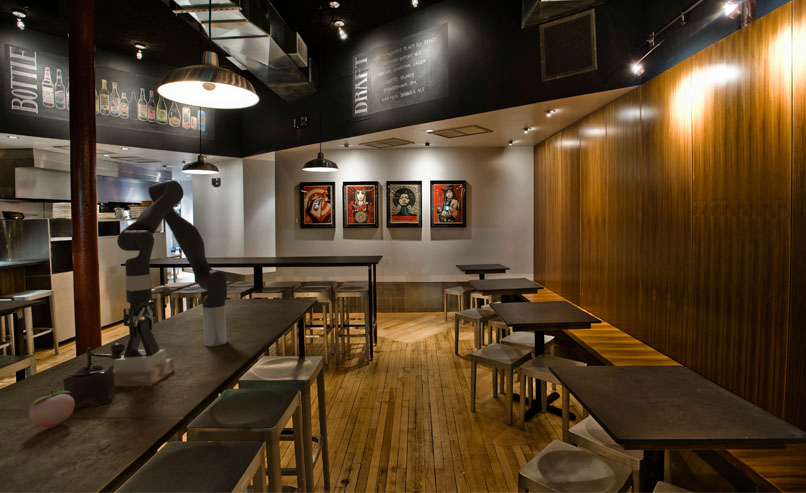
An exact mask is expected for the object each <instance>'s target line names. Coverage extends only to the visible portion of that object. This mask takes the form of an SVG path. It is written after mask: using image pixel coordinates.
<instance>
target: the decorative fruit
mask: <svg viewBox="0 0 806 493" xmlns="http://www.w3.org/2000/svg"><path fill="white" fill-rule="evenodd" d="M50 391H51V393H50V394H49V395H45V396H41V397H39V398H37V399H35V400H34V401H33V402H31V405H30V409H29V412H28V413H29V414H28V416H29V419H30V420H31V422H32V423H33V424H34V425H36V426H39V427H42V428H52V429H53V428H56V427H57V426H58V425H60V424H61V423H63V422H65V421H66V420H67V419H69V418H70V416H71V415H72V414H73V411H75V409H74V405H75V402H74V399H73V398H72V397H71V396H70V395H68V394H66V393H71V392H69V391H64V390H59V391H55V392H54V390H50Z"/></svg>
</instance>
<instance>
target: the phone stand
mask: <svg viewBox="0 0 806 493" xmlns="http://www.w3.org/2000/svg"><path fill="white" fill-rule="evenodd" d="M137 332H138V336H137V337H132V338H131V337H130V336H129V340H128V343H127V345H126V347H125V350H124V354H123V355H124V357H138V356H139V357H141V356H152V355H153V354H155V353H156V352H158V351H159V350H160V347H159V345H158V342H157V340H156V339H155V336H154V334H153V332H152V330H150V327H149V320H148V319H147V318H145V319H144V318H141V319H140V320H139V321H138V323H137ZM140 343H141V344H142V346H143V348H144V349H142V350H143V351H138V350H139V348H140Z"/></svg>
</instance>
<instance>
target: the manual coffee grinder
mask: <svg viewBox="0 0 806 493" xmlns="http://www.w3.org/2000/svg"><path fill="white" fill-rule="evenodd" d="M85 350H86V353H85V356H87V359H86V360H87V362H86V363H87V364H86V365H83V366H82V367H78V368H75V369H74V370H72V371H71V372H70V373H69V374H68V375H67V376H65V377H64V378H63V391H69V392H71V393H66V394H68V395H70V396H71V397H72V398H73V399H74V402H75V405H74V410H80V409H88V408H92V407H97V406H101V405H106V404H108V403H109V402H110V401H111V400H112V398H113V397H114V396H115V392H116V389H115V388H116V386H115V385H114V363H113V364H112V363H111V364H103V365H101V364H96V363H93V362H92V357H96V358H97V357H98V358H110V359H113V361H114V360H115V359H120V358H121V356H122V354H123V352H125V351H126V345H125V344H124V343H122V342H116V343H115V342H114V343H113V344H112V345H110V351H111V353H112V354H110V353H109V354H108V353H107V354H106V353H93V352H92V347H87V348H86V349H85Z"/></svg>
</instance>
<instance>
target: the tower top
mask: <svg viewBox="0 0 806 493" xmlns="http://www.w3.org/2000/svg"><path fill="white" fill-rule="evenodd" d="M159 349H160V348H159ZM143 350H144V349H138V351H143ZM166 351H167V350H166V348H164V349H160V350H159V351H158V352H156V353H155V354H153V355H152V356H141V357H139V356H138V357H124V354H123V355H121V358H120V359H115V360H114V359H113V364H114V371H147V370H149V369H151V368H153V367H155V366H157V365H158V364H160V363H162V362H164V361H166V359H167V352H166Z"/></svg>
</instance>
